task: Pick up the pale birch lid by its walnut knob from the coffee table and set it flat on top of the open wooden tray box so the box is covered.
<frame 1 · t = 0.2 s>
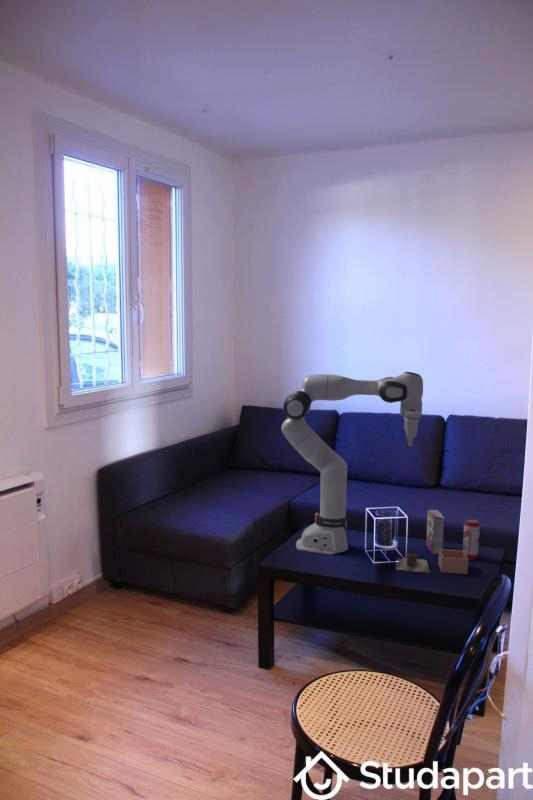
hand: (409, 443, 262), 47 cm above the table, tool pointing down, fingers open, 8 cm apart
candy bar box: (434, 550, 272), on the table
beer can: (469, 558, 264), on the table
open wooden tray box: (452, 568, 252), on the table
lid: (411, 566, 254), on the table
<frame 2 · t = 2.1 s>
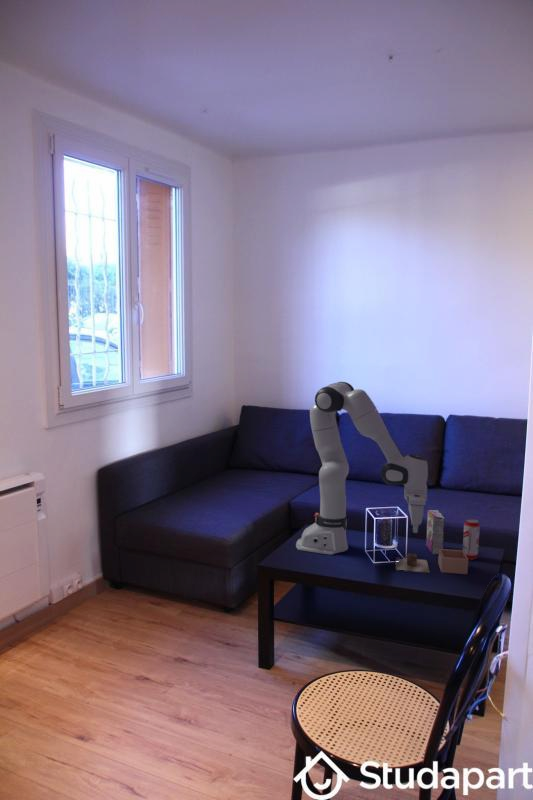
hand: (414, 528, 252), 15 cm above the table, tool pointing down, fingers open, 8 cm apart
nothing on the table moved.
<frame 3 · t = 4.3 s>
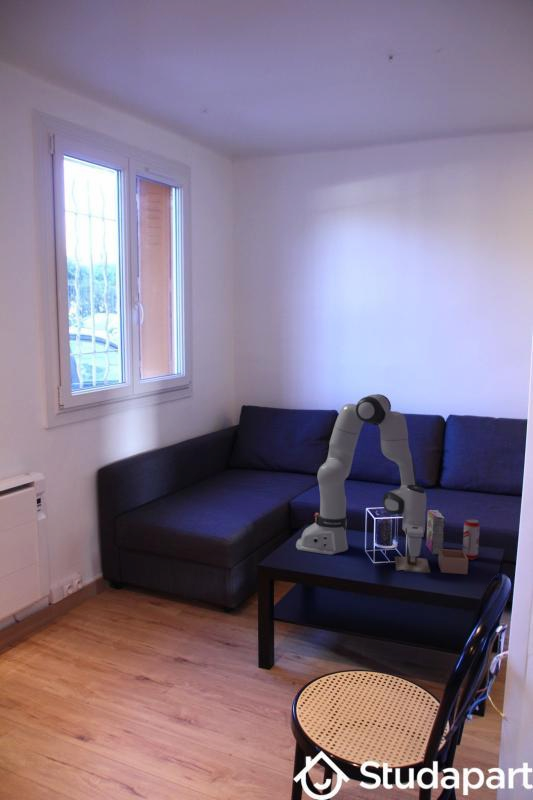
hand: (412, 559, 254), 3 cm above the table, tool pointing down, fingers closed on lid, 3 cm apart
lid: (411, 565, 254), on the table, touching gripper
everything else where it was.
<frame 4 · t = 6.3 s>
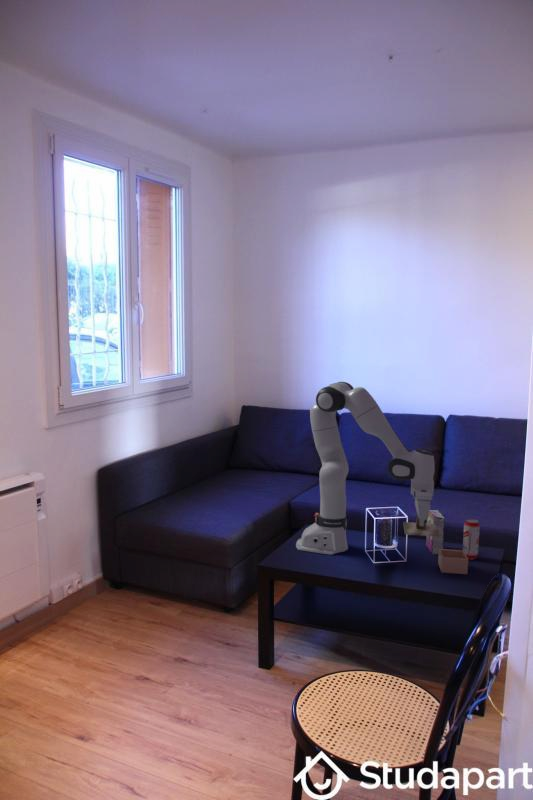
hand: (420, 523, 251), 18 cm above the table, tool pointing down, fingers closed on lid, 3 cm apart
lid: (420, 530, 252), point 15 cm above the table, touching gripper
everything else where it was.
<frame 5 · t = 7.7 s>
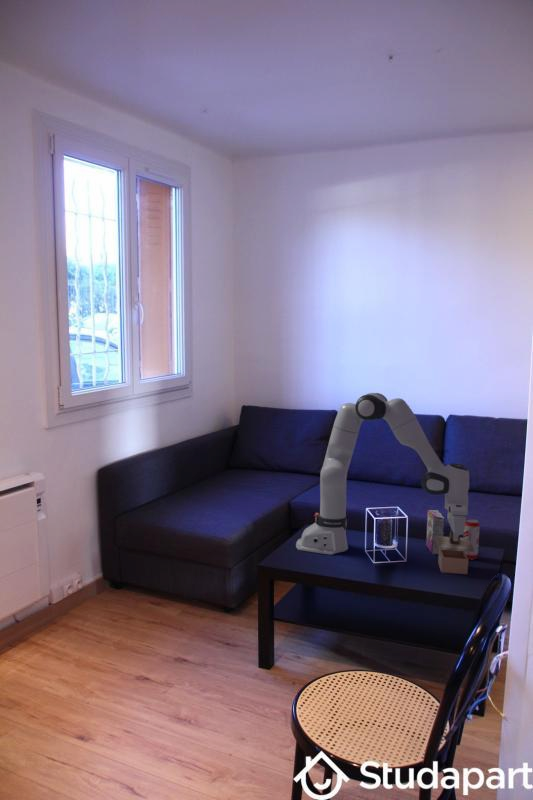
hand: (454, 538, 250), 12 cm above the table, tool pointing down, fingers closed on lid, 3 cm apart
lid: (454, 544, 251), point 10 cm above the table, touching gripper
everything else where it was.
when the fingers open (10 cm above the table, at t = 8.5 s): lid stays where it is, resting on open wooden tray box.
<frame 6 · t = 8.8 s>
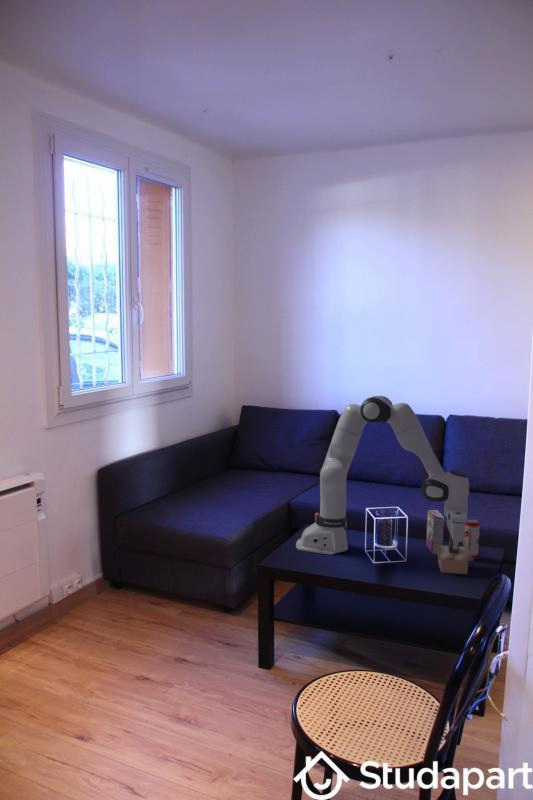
hand: (453, 545, 251), 10 cm above the table, tool pointing down, fingers open, 6 cm apart
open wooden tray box: (452, 568, 252), on the table, touching lid
lid: (453, 554, 251), point 6 cm above the table, touching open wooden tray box
everything else where it was.
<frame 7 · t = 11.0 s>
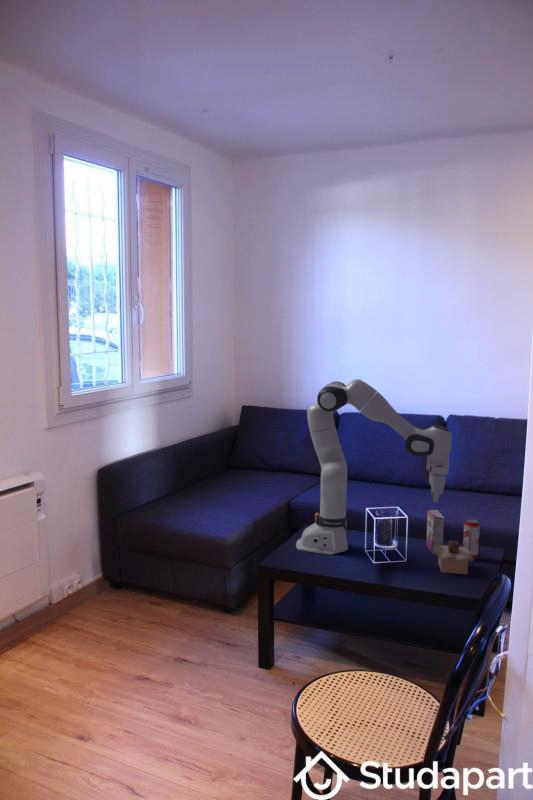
hand: (434, 499, 256), 26 cm above the table, tool pointing down, fingers open, 8 cm apart
nothing on the table moved.
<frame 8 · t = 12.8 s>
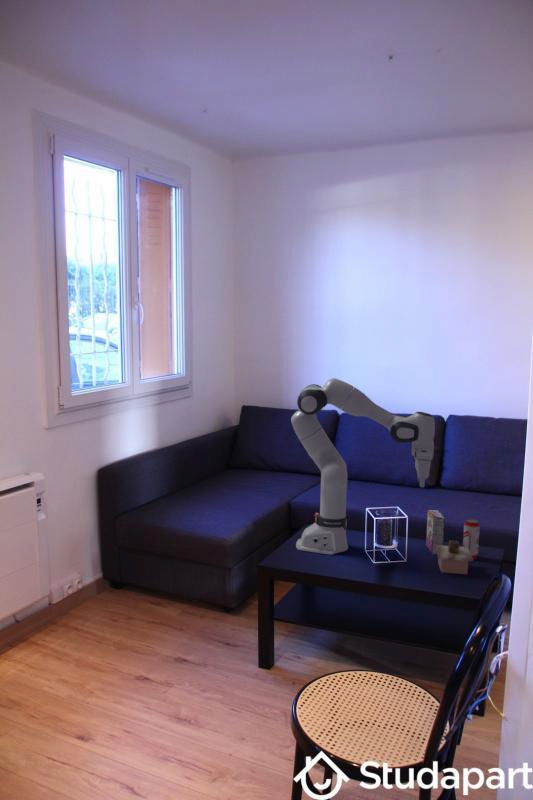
hand: (420, 484, 261), 31 cm above the table, tool pointing down, fingers open, 8 cm apart
nothing on the table moved.
at the end: lid 0.0 cm off-centre on the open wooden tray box, point 6.0 cm above the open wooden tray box's base; lid tilted 0°; the gripper is holding nothing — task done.
